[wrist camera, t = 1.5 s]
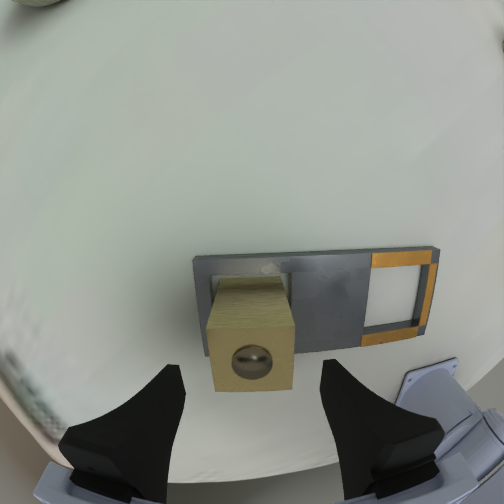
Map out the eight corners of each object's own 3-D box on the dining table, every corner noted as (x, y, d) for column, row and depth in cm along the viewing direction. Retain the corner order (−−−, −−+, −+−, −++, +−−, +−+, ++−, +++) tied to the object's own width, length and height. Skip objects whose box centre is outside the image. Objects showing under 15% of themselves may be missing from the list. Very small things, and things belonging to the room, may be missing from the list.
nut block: (280, 327, 22) (292, 391, 14) (225, 329, 22) (215, 394, 14) (280, 276, 20) (295, 327, 13) (220, 278, 21) (205, 330, 13)
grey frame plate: (418, 328, 22) (424, 334, 21) (206, 348, 22) (204, 357, 21) (432, 246, 20) (440, 249, 19) (195, 256, 20) (192, 260, 19)
